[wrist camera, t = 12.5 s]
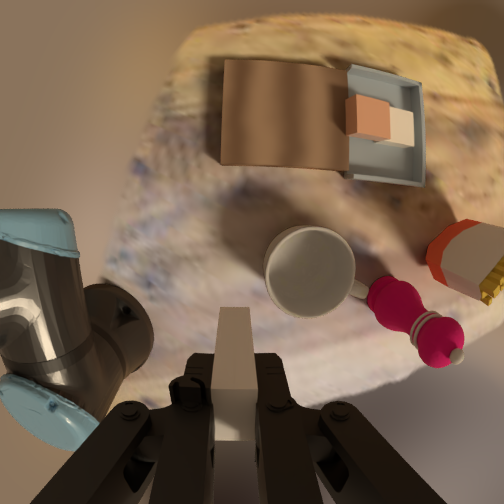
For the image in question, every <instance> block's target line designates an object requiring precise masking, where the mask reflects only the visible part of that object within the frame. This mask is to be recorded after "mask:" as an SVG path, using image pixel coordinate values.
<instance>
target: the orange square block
mask: <svg viewBox="0 0 504 504" xmlns="http://www.w3.org/2000/svg"><path fill="white" fill-rule="evenodd" d="M345 108H346V136H350V137H356V138H362V139H368V140H373V141H383V140H389V139H391V133H390V107H389V102H385V101H382V100H378V99H374V98H370V97H366V96H362V95H358V94H356V95H354V96H352V97H350V98H348V99H346V100H345Z"/></svg>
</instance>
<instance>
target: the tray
mask: <svg viewBox="0 0 504 504" xmlns="http://www.w3.org/2000/svg"><path fill="white" fill-rule="evenodd" d="M345 71H347V76H348V96H349V98H350V97H352V96H354V95H356V94H358V95H362V96H366V97H370V98H374V99H378V100H382V101H385V102H389V106H390V107H394V108H398V109H402V110H406V111H410V112H413V120H414V147H408V148H400V147H394V146H389V145H383V144H377V143H374V141H373V140H368V139H362V138H356V137H350V136H349V171H344V179H351V180H361V181H371V182H380V183H388V184H396V185H404V186H411V187H424V188H425V176H426V139H425V117H424V103H423V92H422V83H420V82H417V81H414V80H411V79H408V78H405V77H401V76H398V75H394V74H391V73H387V72H383V71H380V70H376V69H372V68H367V67H363V66H358V65H354V64H351V65H350V66H349V67H348V68H347V69H346V70H345Z"/></svg>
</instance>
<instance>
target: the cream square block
mask: <svg viewBox="0 0 504 504" xmlns="http://www.w3.org/2000/svg"><path fill="white" fill-rule="evenodd" d="M389 107H390V106H389ZM390 133H391V139H389V140H383V141H374V143H377V144H383V145H389V146H394V147H400V148H408V147H414V120H413V112H410V111H406V110H402V109H398V108H394V107H390Z"/></svg>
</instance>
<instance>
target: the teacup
mask: <svg viewBox="0 0 504 504" xmlns="http://www.w3.org/2000/svg"><path fill="white" fill-rule="evenodd" d="M355 271H356V265H355V259H354V254H353V252H352V250H351V248H350V246H349V244H348V243H347V242H346V241H345V239H343V238H342V237H341V236H340V235H339V234H338V233H336V232H334V231H332V230H330V229H328V228H325V227H319V226H310V225H300V226H295V227H291V228H289V229H287V230H284V231H283V232H281V233H280V234H279V235H278V236H276V237H275V238H274V239H273V241H272V242H271V243H270V245H269V247H268V249H267V251H266V253H265V257H264V262H263V272H264V278H265V284H266V288H267V291H268V293H269V296H270V297H271V299H272V301H273V302H274V303H275V305H276V306H277V307H278V308H279V309H281V310H282V311H283V312H285V313H286V314H288V315H291V316H293V317H297V318H304V319H313V318H318V317H321V316H324V315H326V314H328V313H330V312H332V311H333V310H335V309H336V308H337V307H338V306H339V305H340V304H341V303H342V302H343V301H344V300H345V298H346V297H347V296H348V294H350V295H353V296H355V297H357V298H360V299H364V298H366V296H367V295H368V292H369V288H368V287H367V286H366V285H364V284H363V283H361V282H359V281H357V280H355Z"/></svg>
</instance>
